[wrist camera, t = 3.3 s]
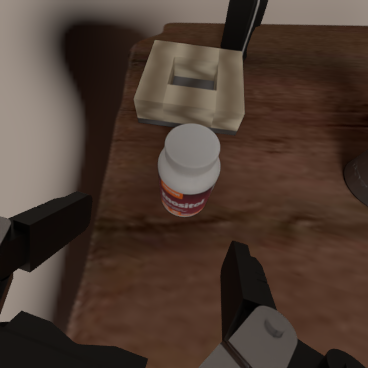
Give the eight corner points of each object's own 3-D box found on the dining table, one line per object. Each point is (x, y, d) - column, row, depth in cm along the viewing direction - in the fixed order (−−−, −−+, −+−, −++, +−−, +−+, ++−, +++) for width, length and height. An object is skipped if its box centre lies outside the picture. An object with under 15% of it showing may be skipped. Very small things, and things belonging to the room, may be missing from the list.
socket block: (234, 75, 38) (242, 51, 34) (235, 135, 31) (244, 113, 27) (156, 65, 38) (155, 39, 34) (138, 122, 31) (133, 98, 27)
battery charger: (250, 60, 41) (276, -12, 31) (236, 64, 40) (258, -9, 30) (232, 43, 44) (251, -28, 34) (219, 47, 43) (233, -26, 33)
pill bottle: (156, 214, 24) (145, 168, 14) (165, 173, 27) (162, 111, 17) (204, 222, 24) (227, 181, 14) (208, 180, 27) (230, 122, 17)
